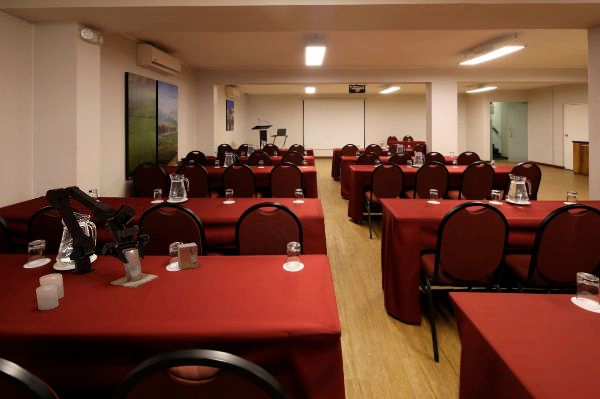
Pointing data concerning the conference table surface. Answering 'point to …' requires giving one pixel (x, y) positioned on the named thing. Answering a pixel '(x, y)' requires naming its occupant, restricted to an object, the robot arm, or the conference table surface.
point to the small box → (187, 256)
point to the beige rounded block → (53, 282)
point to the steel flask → (132, 264)
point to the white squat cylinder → (47, 297)
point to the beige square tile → (134, 284)
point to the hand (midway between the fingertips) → (135, 261)
